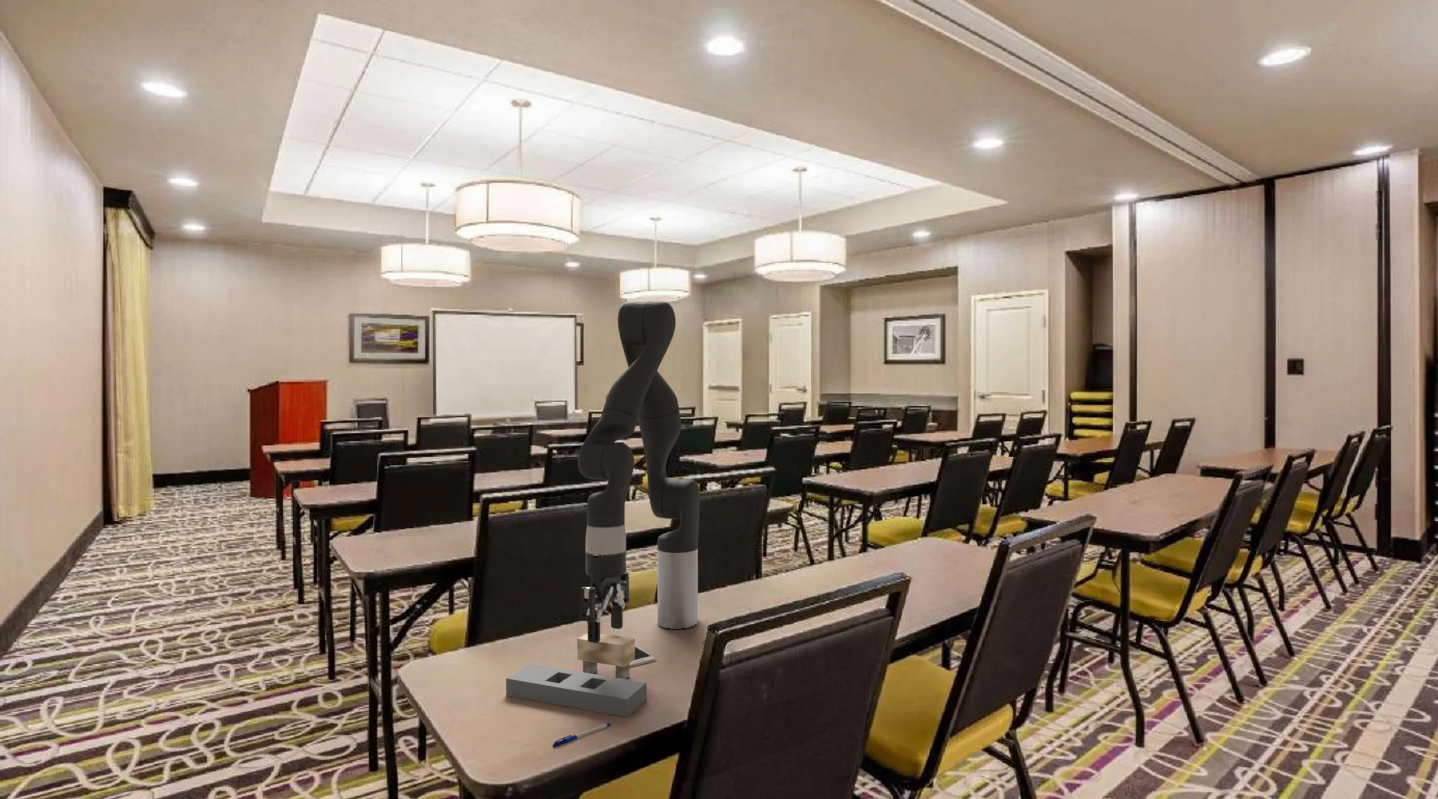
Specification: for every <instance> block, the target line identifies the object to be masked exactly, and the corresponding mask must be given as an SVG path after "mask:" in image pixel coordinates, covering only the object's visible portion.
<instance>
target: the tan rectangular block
mask: <svg viewBox="0 0 1438 799" xmlns="http://www.w3.org/2000/svg"><path fill="white" fill-rule="evenodd" d="M635 640H636V638H634V637H626V636H619V635H615V634H614V635H613V634H612V635H611V634H607V633H606V634H604V633H600V641H599V642H598V643H592V642H589V641H588V632H587V633H584V634H583V635H581V636H579V637H578V638H577V640H576V642H577V644H576V645H577V647H576V648H577V661H582V672H584V673H590V674H595V673H596V672H597V671H598V664H603V665H609V666H615V678H621V679H628V678H629V677H630V668H631V667H630V663H631V662H632V661H633V660H635V646H636V645H635V643H636V641H635Z"/></svg>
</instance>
